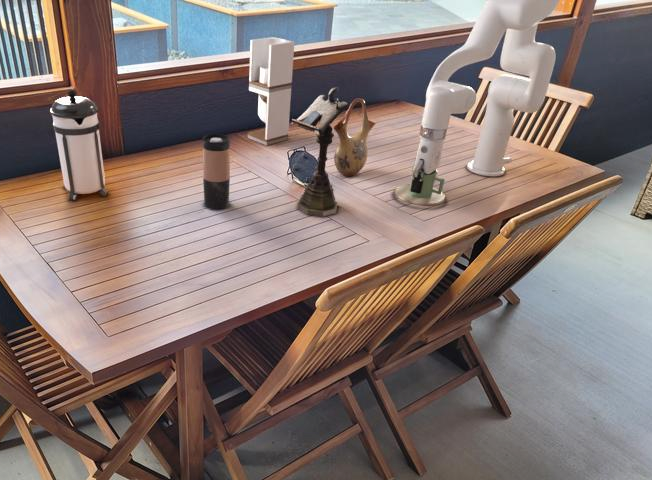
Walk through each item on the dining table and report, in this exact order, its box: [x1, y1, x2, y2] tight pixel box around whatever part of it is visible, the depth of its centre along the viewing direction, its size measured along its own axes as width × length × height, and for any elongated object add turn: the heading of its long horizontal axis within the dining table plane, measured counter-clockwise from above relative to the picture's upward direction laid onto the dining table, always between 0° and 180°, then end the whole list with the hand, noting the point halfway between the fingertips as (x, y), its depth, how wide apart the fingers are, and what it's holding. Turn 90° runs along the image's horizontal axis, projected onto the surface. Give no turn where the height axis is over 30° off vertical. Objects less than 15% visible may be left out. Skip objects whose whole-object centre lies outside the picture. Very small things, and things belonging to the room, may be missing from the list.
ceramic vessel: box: [333, 97, 376, 177], centre depth 185 cm, size 16×9×25 cm, turn 121°
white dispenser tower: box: [247, 36, 296, 146], centre depth 210 cm, size 11×11×35 cm
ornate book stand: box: [290, 86, 349, 217], centre depth 157 cm, size 17×13×35 cm
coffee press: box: [49, 89, 109, 201], centre depth 165 cm, size 17×16×30 cm
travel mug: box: [202, 133, 231, 211], centre depth 163 cm, size 8×8×20 cm
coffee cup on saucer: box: [394, 166, 446, 207], centre depth 175 cm, size 15×15×8 cm
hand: (421, 187), depth 176 cm, fingers open, 9 cm apart
